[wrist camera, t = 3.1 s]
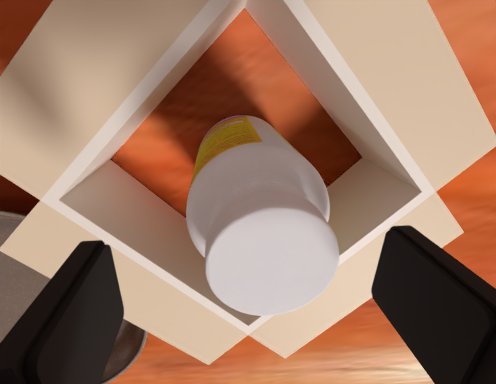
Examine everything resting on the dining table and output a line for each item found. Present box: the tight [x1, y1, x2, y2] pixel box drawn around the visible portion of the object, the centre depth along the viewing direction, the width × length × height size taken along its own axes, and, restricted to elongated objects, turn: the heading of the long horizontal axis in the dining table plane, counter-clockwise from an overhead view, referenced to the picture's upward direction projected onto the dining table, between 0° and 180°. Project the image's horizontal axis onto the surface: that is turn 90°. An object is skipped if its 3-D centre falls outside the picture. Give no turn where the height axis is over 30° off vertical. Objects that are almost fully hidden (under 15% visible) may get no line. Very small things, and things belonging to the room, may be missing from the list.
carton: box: [0, 0, 496, 365], centre depth 18 cm, size 23×23×7 cm
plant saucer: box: [0, 210, 148, 384], centre depth 23 cm, size 21×21×3 cm
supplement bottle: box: [186, 115, 339, 316], centre depth 15 cm, size 7×7×13 cm
